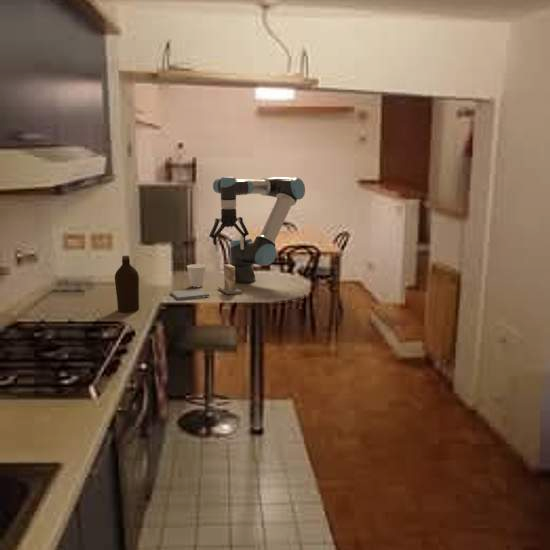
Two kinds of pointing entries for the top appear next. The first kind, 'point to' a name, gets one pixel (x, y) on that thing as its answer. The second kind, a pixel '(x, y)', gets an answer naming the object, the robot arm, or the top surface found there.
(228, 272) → the stub
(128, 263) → the olive oil
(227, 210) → the robot arm
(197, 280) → the cup
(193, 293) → the board
